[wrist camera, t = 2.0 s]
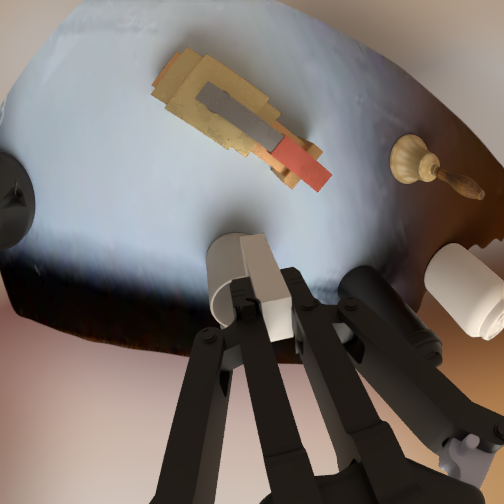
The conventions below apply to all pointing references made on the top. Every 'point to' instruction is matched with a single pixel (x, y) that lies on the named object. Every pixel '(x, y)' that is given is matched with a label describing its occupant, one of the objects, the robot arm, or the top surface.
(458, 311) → the white lidded jar
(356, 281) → the water bottle
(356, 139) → the top surface
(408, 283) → the top surface
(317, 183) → the lever
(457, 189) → the hand bell
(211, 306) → the mug
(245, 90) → the valve
